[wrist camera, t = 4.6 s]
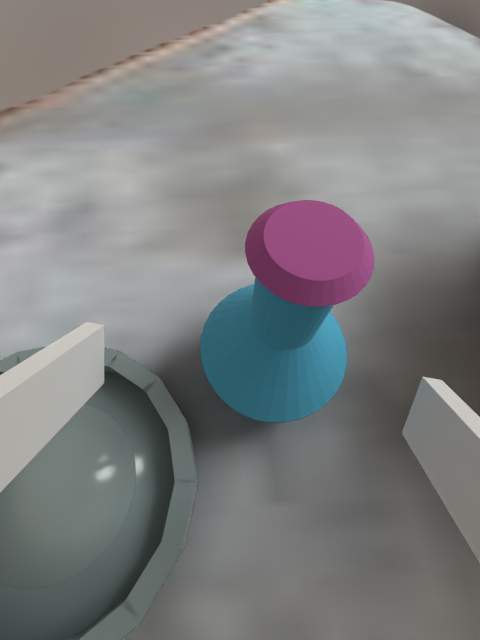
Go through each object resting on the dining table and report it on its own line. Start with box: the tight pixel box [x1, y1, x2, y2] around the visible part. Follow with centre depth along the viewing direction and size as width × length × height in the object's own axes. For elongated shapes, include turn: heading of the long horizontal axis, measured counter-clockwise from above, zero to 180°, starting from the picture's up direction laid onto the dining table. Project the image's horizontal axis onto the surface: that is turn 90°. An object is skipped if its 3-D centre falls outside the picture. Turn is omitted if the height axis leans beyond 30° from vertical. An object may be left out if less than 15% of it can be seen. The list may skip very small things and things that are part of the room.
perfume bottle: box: [200, 200, 374, 423], centre depth 18 cm, size 9×9×15 cm
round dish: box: [0, 347, 198, 640], centre depth 20 cm, size 17×17×2 cm
